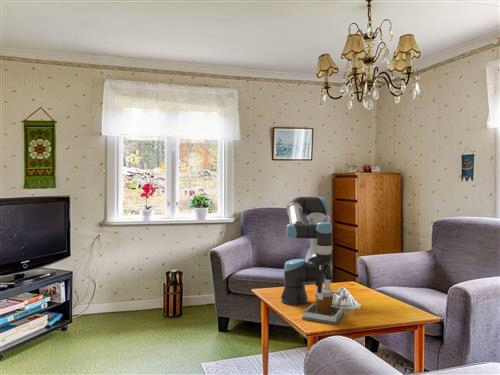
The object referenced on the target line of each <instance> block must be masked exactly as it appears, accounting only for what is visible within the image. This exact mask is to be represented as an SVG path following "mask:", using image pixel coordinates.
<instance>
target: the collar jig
mask: <svg viewBox="0 0 500 375" xmlns="http://www.w3.org/2000/svg"><path fill="white" fill-rule="evenodd" d="M344 316H345V307H344V306H343V307H342V306H336V305H332V307H331V314H330V315H324V314H318V311H317V303H313V302H312V303H311V304H310V305H309V306H308V307H306V308H305V310H303V312H302V317H301V319H302V320H305V321H310V322H318V323H322V324H323V323H324V324H330V325H334V326H335V325H338V323H340V321H341V319H342V318H343V317H344Z"/></svg>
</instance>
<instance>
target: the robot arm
mask: <svg viewBox="0 0 500 375" xmlns="http://www.w3.org/2000/svg"><path fill="white" fill-rule="evenodd" d="M327 202H328V201H327V200H326V198H325V197H324V196H323V197H322V196H298V197H294V198H293V199H292V200H290V201H289V202H288V204H287V206H286V213H287V215H288V221H289V223H288V224H287V225H286V237H287V238H288V239H299V240H300V239H309V243H310V245H309V247H310V248H309V249H310V257H309V258H308V259H307V261H306V260H305V259H303V258H295V259H290V260H287V261H285V263H284V268H283V271H284V274H283V276H284V278H283V279H284V283H283V290H282V292H281V293H282V294H281V297H280V302H282V303H283V304H285V305H289V306H290V305H292V306H302V305H303V306H304V305H306V304H308V303H309V297H308V293H307V290H306V284H315V285H314V286H316V289H317V299H320V300H323V288H328V289H331V280H333V276H332V273H333V263H332V260H333V259H332V258H333V255H332V254H333V253H332V252H333V251H332V250H333V247H332V243H333V241H332V240H333V238H332V237H333V224H332V223H331V222H327V221H325V220H326V217H327V216H328V215H329V210H328V209H329V207H328V203H327ZM303 216H305V217H306V220H308V223H304V219H303ZM324 221H325V222H324ZM323 284H324V286H323Z"/></svg>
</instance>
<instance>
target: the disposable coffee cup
mask: <svg viewBox="0 0 500 375" xmlns="http://www.w3.org/2000/svg"><path fill="white" fill-rule="evenodd" d="M314 294H315V299H316V300H315V301H316V303H315V304H317V311H318V314H324V315H330V314H331V307H332V306H333V300H334V299H333V298H334V295H335V293H334V290H333V289H331V288H330V289H328V288H325V287H323V300H320V299H317V288H315V291H314Z"/></svg>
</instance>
